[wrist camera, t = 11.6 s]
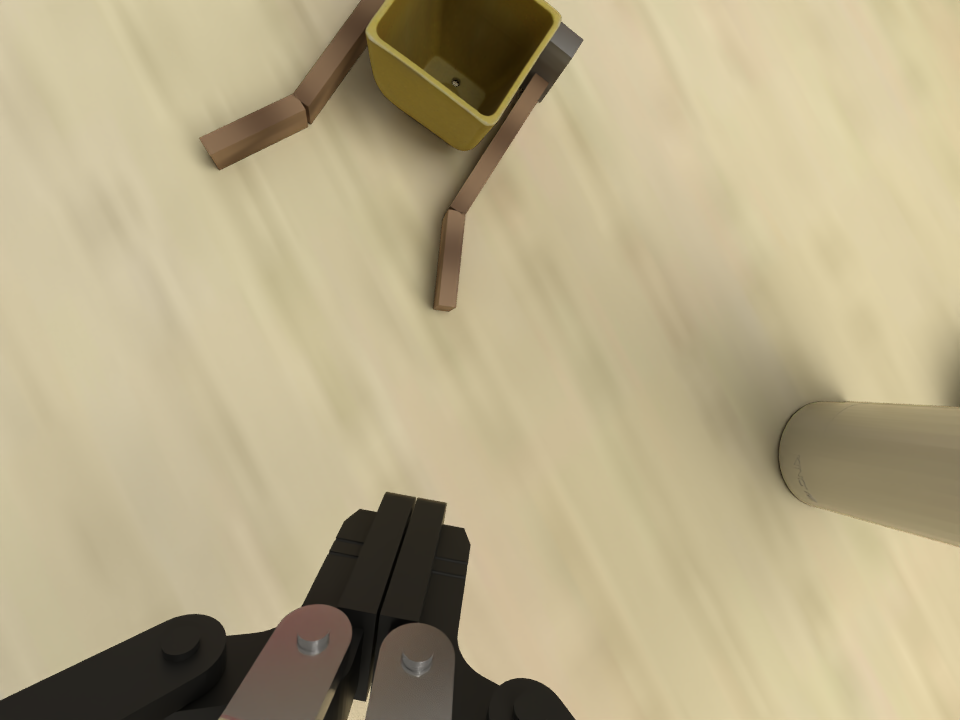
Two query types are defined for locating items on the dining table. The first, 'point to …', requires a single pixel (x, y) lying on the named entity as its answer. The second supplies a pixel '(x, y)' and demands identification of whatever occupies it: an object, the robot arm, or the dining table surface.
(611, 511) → the dining table surface
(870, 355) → the dining table surface
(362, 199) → the dining table surface
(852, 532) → the dining table surface
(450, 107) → the flower pot
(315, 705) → the robot arm
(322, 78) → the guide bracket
